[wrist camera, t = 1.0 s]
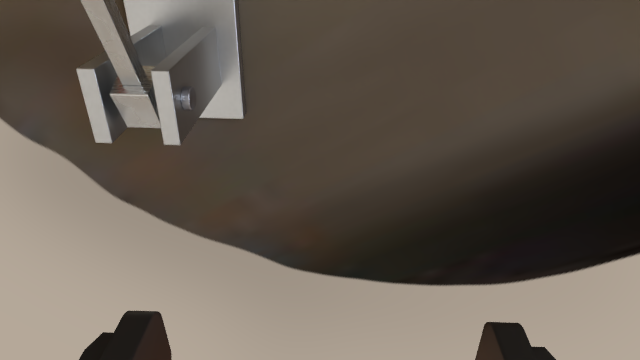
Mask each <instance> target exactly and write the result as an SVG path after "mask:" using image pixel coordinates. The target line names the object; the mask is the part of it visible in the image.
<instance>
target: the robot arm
mask: <svg viewBox="0 0 640 360" xmlns="http://www.w3.org/2000/svg"><path fill="white" fill-rule="evenodd" d="M79 360H171V349H170V345H169V342H168V338H167V334H166V330H165V327H164V323H163V320H162V316H161V314H160V313H159V312H156V311H127V312H126V313H125V314H124V315H123V317H122V318H121V320H120V322H119V324H118V326H117V328H116V330H115V332H114V333H104V332H103V333H102V334H101V335H100V336H99V337H98V338H97V339H96V340H95V341H94V342H93V343H91V344H90V345H89V346H88V347H87V348H86V349H85V350H84V352H83V354H82V355H81V357H80V359H79ZM475 360H556V359H555V358H554V357H553V356H552V355H551V354H550V353H549V352H548V351H547V349H546V348H545V347H531V345H530V343H529V340H528V338H527V336H526V333H525V331H524V329H523V327H522V326H521V325H520V324H519V323H500V322H487V323H486V324H485V325H484V329H483V332H482V336H481V340H480V344H479V348H478V351H477V355H476V359H475Z"/></svg>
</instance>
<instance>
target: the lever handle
mask: <svg viewBox="0 0 640 360" xmlns="http://www.w3.org/2000/svg"><path fill="white" fill-rule="evenodd" d="M80 1H81V3H82V5H83V7H84V9H85V11H86V13H87V15H88V17H89V19H90V21H91V23H92V25H93V27H94V29H95V31H96V33H97V35H98V37H99V39H100V41H101V43H102V45H103V47H104V49H105V51H106V53H107V55H108V57H109V59H110V61H111V63H112V65H113V67H114V69H115V71H116V73H117V77H116V80H115V82H114V84H113V87H112V89H111V91H110V97H111V98H112V100H113V102H114V104H115V106H116V108H117V109H118V111H119V113H120V115H121V117H122V119H123V121H124V122H125V124H126V126H127V127H136V128H161V126H160V120H159V115H158V109H157V104H156V98H155V93H154V87H153V81H152V76H151V70H152V69H153V68H154V67H156V66H142V64H141V61H140V59H139V56H138V54H137V52H136V49H135V47H134V45H133V42H132V40H131V38H130V35H129V33H128V31H127V28H126V26H125V24H124V21H123V19H122V17H121V14H120V12H119V9H118V7H117V5H116V2H115V0H80Z"/></svg>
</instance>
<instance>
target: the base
mask: <svg viewBox="0 0 640 360" xmlns="http://www.w3.org/2000/svg"><path fill="white" fill-rule="evenodd" d="M123 2H124V7H125V12H126V17H127V22H128V27H129V32H130V38H131V40H132V42H133V45H134V47H135V49H136V52H137V54H138V56H139V59H140V61H141V64H142V66H156V67H154V68H153V69H152V70H151V76H152V81H153V87H154V93H155V98H156V104H157V109H158V115H159V120H160V126H161V131H162V137H163V142H164V145H181V143H182V142H183V141H184V139H185V138H186V136H187V135H188V133H189V132H190V130H191V129H192V127H193V126H194V124H195V123H196V122H197V120H198V119H199V118H224V119H244V116H245V114H246V104H245V90H244V76H243V63H242V49H241V36H240V22H239V9H238V0H123ZM76 71H77V75H78V78H79V82H80V86H81V90H82V93H83V97H84V101H85V105H86V108H87V112H88V116H89V120H90V123H91V127H92V131H93V135H94V138H95V142H96V143H113V142H114V141H115V140H116V139H117V138H118V137H119V136H120V135H121V134H122V133H123V132H124V131H125V130H126V128H127V126H126V124H125V122H124V121H123V119H122V117H121V115H120V113H119V111H118V109H117V108H116V106H115V104H114V102H113V100H112V98H111V97H110V91H111V89H112V87H113V84H114V82H115V80H116V77H117V73H116V71H115V69H114V67H113V65H112V63H111V61H110V59H109V57H108V55H107V53H106V51H105V52H103V53H101V54H100V55H98V56H96V57H95V58H93V59H91V60H90V61H88V62H86V63H85V64H83V65H81V66H80V67H78V68H76Z"/></svg>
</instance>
